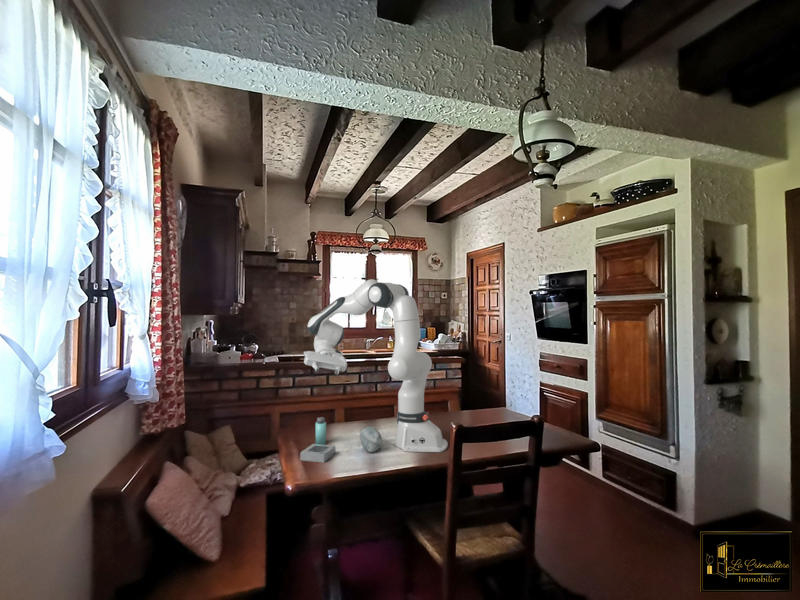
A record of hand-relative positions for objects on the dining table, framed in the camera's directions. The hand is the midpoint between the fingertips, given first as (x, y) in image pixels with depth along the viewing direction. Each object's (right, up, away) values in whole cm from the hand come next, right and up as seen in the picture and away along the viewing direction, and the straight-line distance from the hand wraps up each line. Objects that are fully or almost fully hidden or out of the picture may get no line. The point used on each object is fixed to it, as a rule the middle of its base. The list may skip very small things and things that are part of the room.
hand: (327, 371), depth 178 cm
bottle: (-1, -29, -10) cm, 31 cm away
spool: (+21, -29, -16) cm, 39 cm away
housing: (+1, -29, -25) cm, 38 cm away
